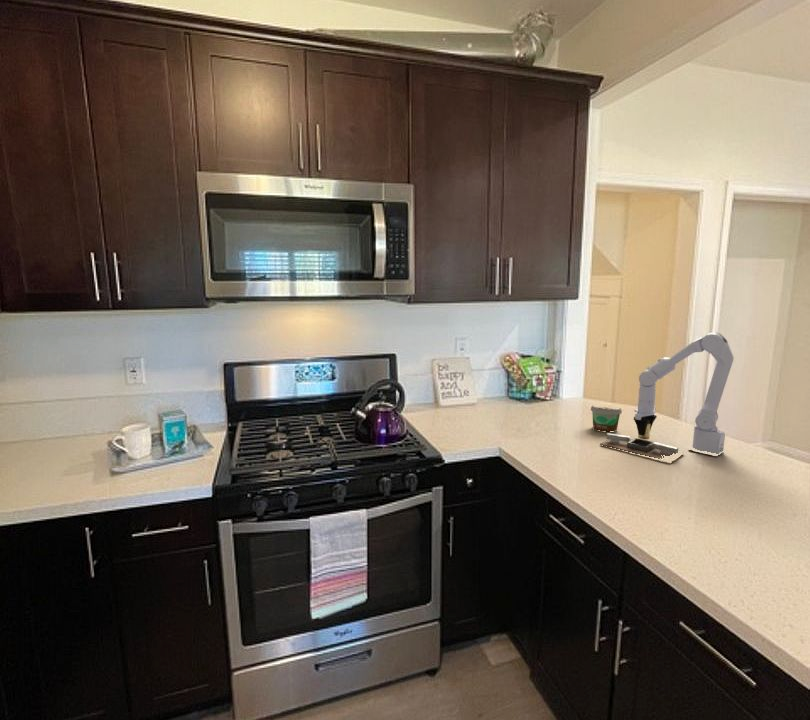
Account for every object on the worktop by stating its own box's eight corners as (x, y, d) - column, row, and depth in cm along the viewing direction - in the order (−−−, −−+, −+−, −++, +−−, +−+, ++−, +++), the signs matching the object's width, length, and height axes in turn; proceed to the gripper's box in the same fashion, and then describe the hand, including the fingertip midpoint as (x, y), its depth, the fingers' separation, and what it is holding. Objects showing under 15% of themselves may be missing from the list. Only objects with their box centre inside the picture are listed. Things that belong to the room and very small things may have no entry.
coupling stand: (683, 455, 171) (684, 444, 170) (669, 464, 163) (670, 453, 162) (615, 438, 190) (616, 428, 189) (600, 445, 181) (600, 435, 181)
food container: (587, 430, 199) (589, 408, 197) (589, 426, 204) (590, 404, 203) (619, 435, 193) (621, 411, 192) (620, 430, 199) (622, 408, 197)
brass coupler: (650, 437, 187) (652, 423, 186) (646, 440, 184) (647, 425, 183) (640, 435, 190) (641, 421, 189) (636, 437, 187) (637, 423, 186)
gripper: (643, 395, 192) (641, 427, 194) (627, 401, 183) (625, 435, 185) (662, 398, 187) (659, 431, 189) (646, 405, 177) (644, 439, 180)
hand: (643, 433), depth 187 cm, fingers closed on brass coupler, 4 cm apart
